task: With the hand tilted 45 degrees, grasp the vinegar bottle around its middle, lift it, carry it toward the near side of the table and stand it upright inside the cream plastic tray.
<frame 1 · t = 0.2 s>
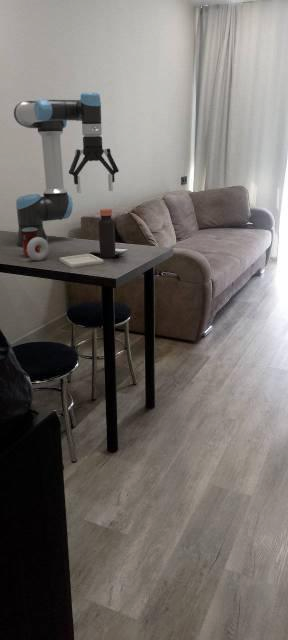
hand: (95, 191, 204), 28 cm above the table, tool pointing down, fingers open, 13 cm apart
soda can: (32, 256, 222), on the table
tray: (81, 262, 209), on the table
vinegar: (107, 256, 219), on the table
donut: (39, 260, 214), on the table
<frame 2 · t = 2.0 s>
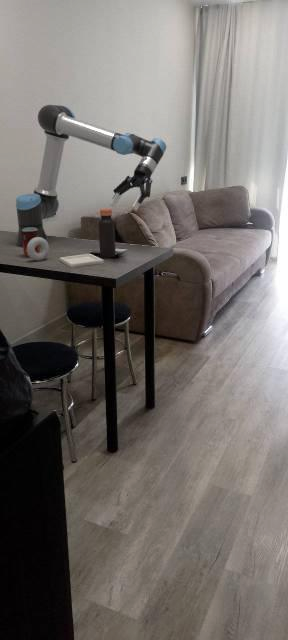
hand: (122, 207, 219), 20 cm above the table, tool tilted 45°, fingers open, 13 cm apart
nothing on the table moved.
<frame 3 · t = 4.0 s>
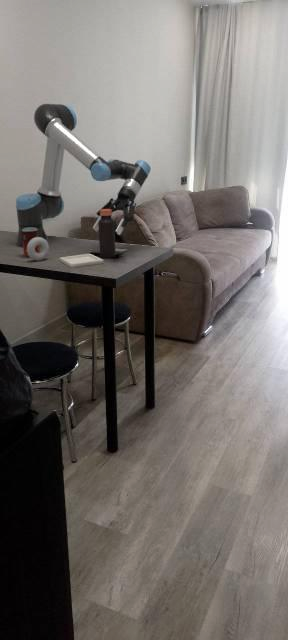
hand: (106, 231, 215), 11 cm above the table, tool tilted 45°, fingers open, 13 cm apart
nothing on the table moved.
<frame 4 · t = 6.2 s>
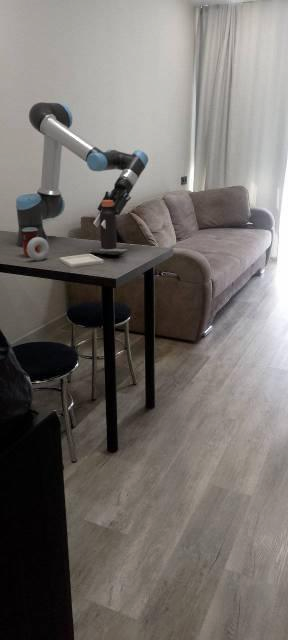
hand: (99, 225, 212), 14 cm above the table, tool tilted 45°, fingers open, 4 cm apart
vinegar: (108, 248, 217), point 4 cm above the table, touching gripper
everything else where it was.
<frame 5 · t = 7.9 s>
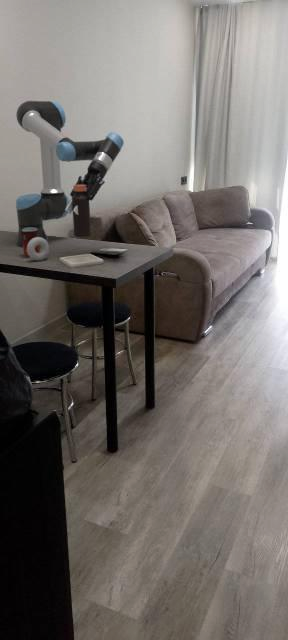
hand: (71, 212, 200), 21 cm above the table, tool tilted 45°
vinegar: (82, 236, 205), point 11 cm above the table, touching gripper
everything else where it was.
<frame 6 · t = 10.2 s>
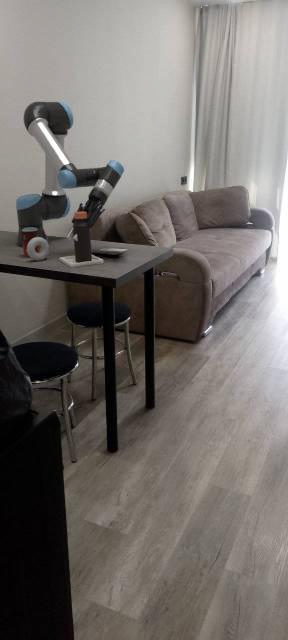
hand: (72, 239, 203), 10 cm above the table, tool tilted 45°, fingers open, 3 cm apart
vinegar: (83, 261, 208), resting on tray, touching gripper
everything else where it was.
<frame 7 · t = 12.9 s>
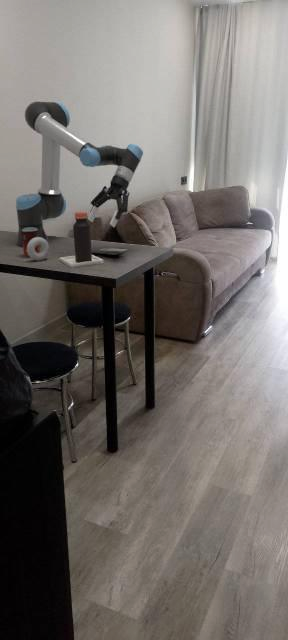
hand: (100, 223, 213), 14 cm above the table, tool tilted 35°, fingers open, 13 cm apart
vinegar: (83, 261, 208), resting on tray
everything else where it was.
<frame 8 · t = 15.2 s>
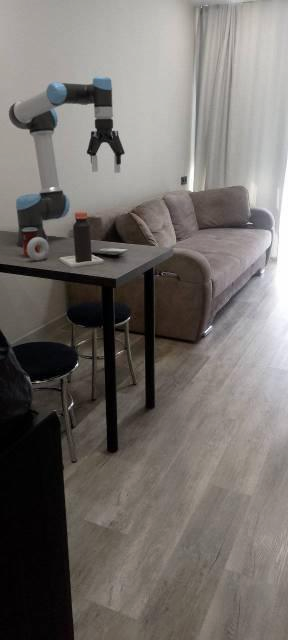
hand: (106, 172, 214), 35 cm above the table, tool pointing down, fingers open, 13 cm apart
nothing on the table moved.
at the end: vinegar inside the target area on the tray (1.7 cm from its centre), point 0.4 cm above the tray's base; vinegar tilted 0°; the gripper is holding nothing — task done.
